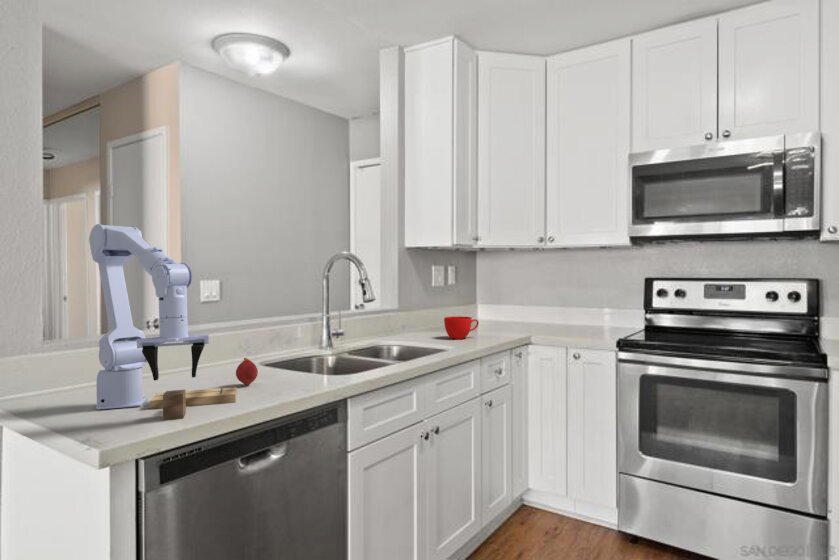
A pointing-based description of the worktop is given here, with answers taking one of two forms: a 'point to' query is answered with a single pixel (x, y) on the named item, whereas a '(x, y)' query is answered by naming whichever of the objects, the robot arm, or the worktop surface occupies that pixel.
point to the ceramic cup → (459, 326)
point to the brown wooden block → (174, 404)
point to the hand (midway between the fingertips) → (175, 378)
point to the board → (200, 397)
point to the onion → (246, 372)
